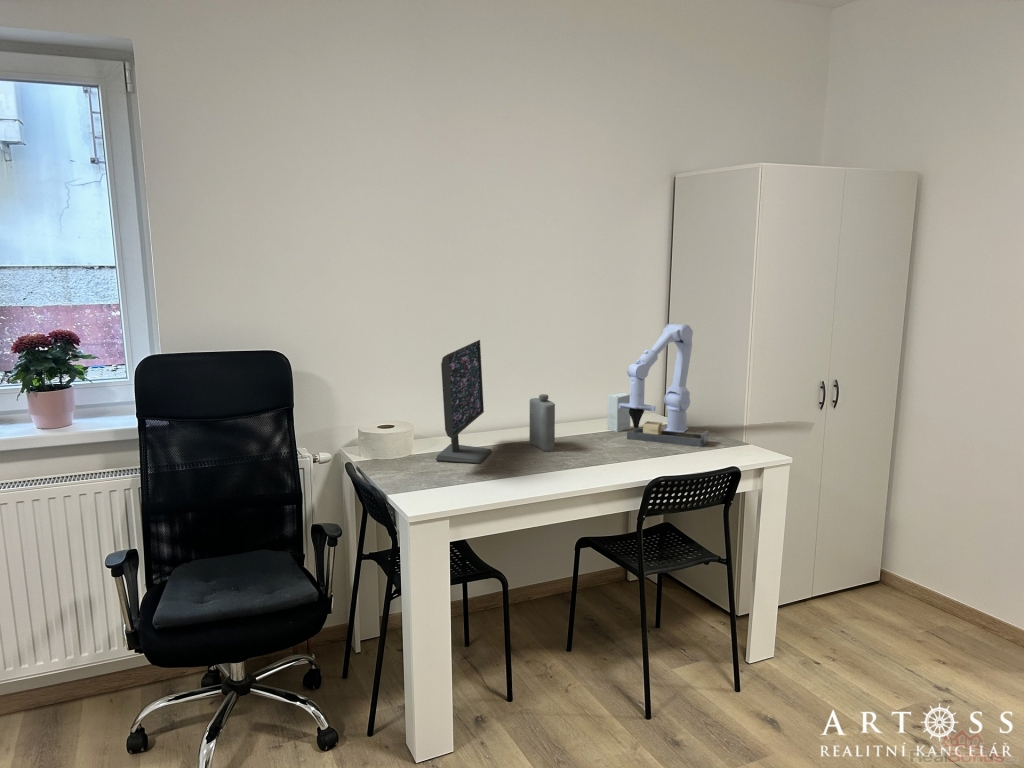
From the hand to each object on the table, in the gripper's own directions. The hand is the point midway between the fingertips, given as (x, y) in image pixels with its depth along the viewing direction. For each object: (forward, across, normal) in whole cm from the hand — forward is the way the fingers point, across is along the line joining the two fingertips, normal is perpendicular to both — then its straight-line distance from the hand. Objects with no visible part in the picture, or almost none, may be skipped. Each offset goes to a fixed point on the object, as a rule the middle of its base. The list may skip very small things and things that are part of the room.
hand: (636, 427), depth 304 cm
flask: (+4, -27, -30) cm, 41 cm away
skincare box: (+4, -10, +10) cm, 15 cm away
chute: (+4, +13, 0) cm, 13 cm away
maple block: (+3, +7, 0) cm, 7 cm away
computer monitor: (+4, -47, -55) cm, 73 cm away
